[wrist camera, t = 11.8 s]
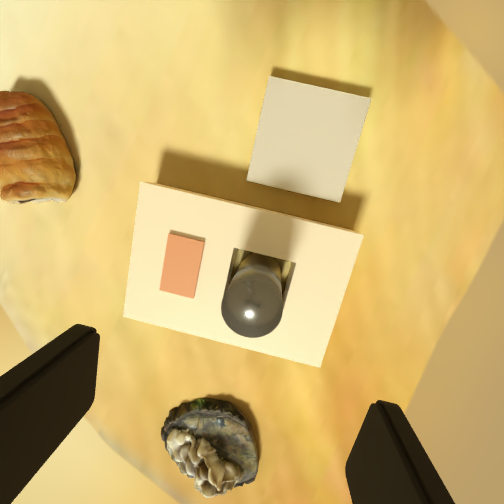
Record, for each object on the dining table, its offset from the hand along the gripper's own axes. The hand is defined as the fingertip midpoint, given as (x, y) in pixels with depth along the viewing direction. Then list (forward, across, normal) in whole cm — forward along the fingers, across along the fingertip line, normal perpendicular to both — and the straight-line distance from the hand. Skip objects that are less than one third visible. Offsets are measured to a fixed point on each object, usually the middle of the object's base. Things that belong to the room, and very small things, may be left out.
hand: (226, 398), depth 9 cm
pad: (+17, -2, -11) cm, 20 cm away
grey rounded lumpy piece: (+16, 0, +21) cm, 27 cm away
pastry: (+17, +22, -4) cm, 28 cm away
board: (+16, +2, +1) cm, 16 cm away
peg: (+16, 0, +1) cm, 16 cm away
